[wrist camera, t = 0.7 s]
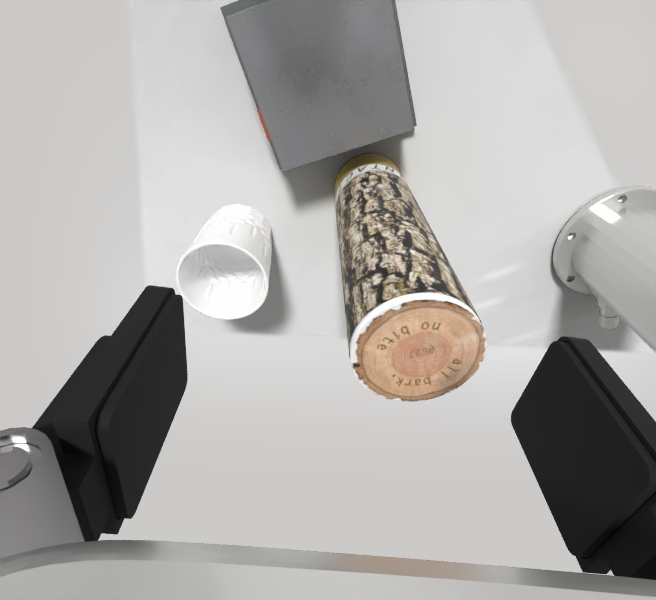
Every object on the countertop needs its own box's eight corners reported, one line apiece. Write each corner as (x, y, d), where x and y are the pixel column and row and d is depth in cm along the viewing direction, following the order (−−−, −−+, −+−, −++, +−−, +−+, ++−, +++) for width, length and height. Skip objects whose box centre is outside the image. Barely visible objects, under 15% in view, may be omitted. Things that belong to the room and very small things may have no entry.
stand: (414, 122, 38) (428, 138, 33) (281, 165, 40) (276, 186, 35) (382, -55, 31) (395, -69, 26) (223, 8, 33) (206, 6, 28)
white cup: (197, 197, 42) (167, 241, 33) (275, 198, 42) (265, 242, 33) (208, 265, 46) (184, 319, 38) (279, 266, 46) (270, 320, 38)
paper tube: (406, 209, 43) (488, 389, 22) (342, 224, 43) (363, 411, 23) (396, 143, 39) (485, 284, 18) (326, 161, 40) (336, 315, 19)
